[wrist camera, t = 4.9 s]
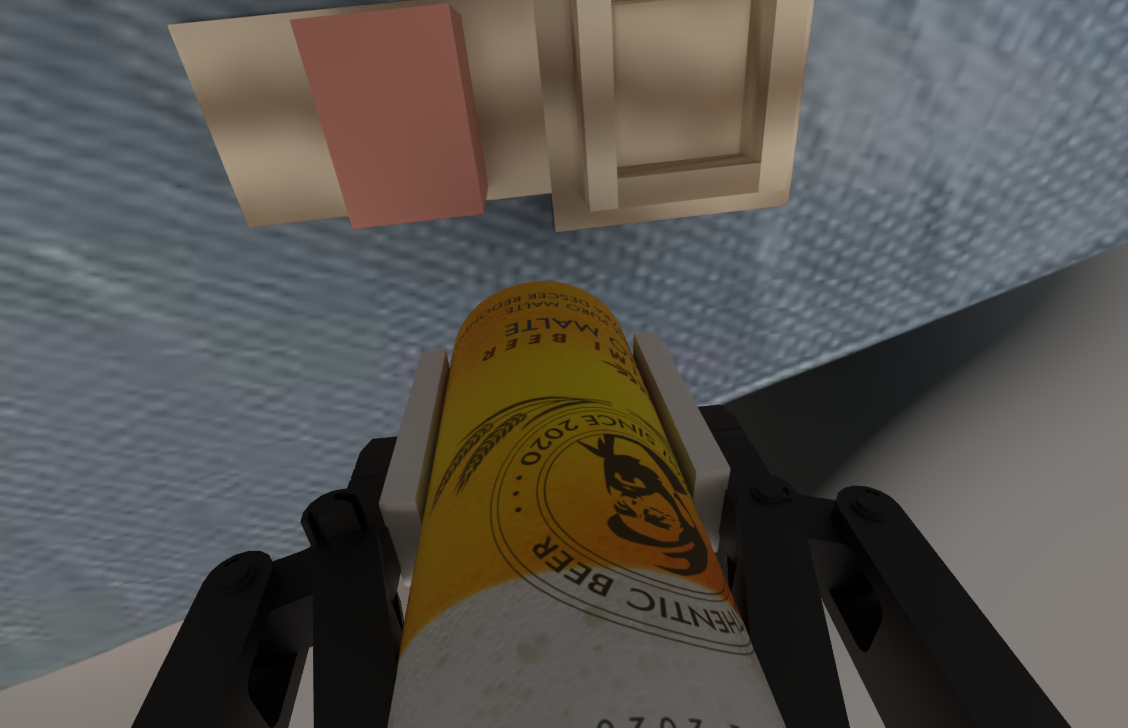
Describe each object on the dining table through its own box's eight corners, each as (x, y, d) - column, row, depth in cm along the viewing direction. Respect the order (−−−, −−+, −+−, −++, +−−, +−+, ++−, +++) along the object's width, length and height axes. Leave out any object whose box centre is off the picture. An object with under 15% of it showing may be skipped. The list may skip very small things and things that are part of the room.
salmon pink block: (334, 27, 25) (289, 19, 20) (460, 14, 25) (448, 3, 20) (380, 198, 29) (352, 229, 24) (488, 186, 29) (484, 214, 24)
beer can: (651, 308, 19) (977, 883, 6) (579, 435, 21) (691, 1023, 8) (489, 244, 17) (433, 864, 4) (433, 391, 19) (290, 1048, 7)
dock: (155, -33, 24) (96, -48, 20) (816, -97, 25) (865, -122, 21) (271, 260, 31) (241, 285, 28) (780, 201, 32) (812, 218, 29)
